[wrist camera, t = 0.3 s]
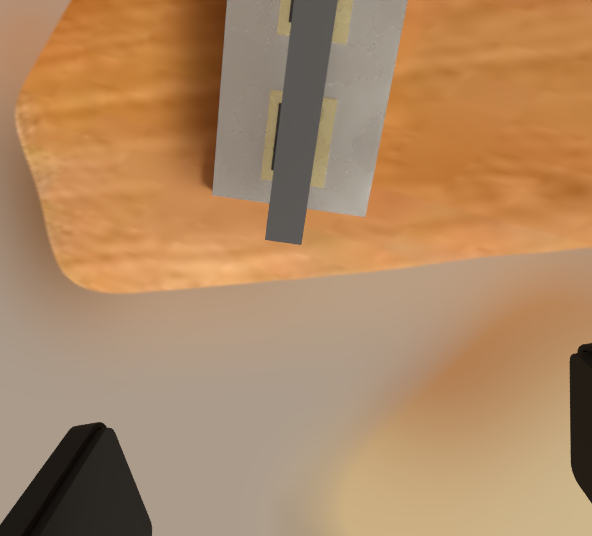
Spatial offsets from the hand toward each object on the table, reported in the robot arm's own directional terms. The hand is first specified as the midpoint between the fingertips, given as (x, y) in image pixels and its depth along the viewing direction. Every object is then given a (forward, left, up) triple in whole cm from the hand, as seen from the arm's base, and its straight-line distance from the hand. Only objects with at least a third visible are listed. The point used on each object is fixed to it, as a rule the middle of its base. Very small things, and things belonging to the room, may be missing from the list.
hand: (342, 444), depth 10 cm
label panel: (-8, -2, -29) cm, 30 cm away
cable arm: (-10, -2, -26) cm, 28 cm away
